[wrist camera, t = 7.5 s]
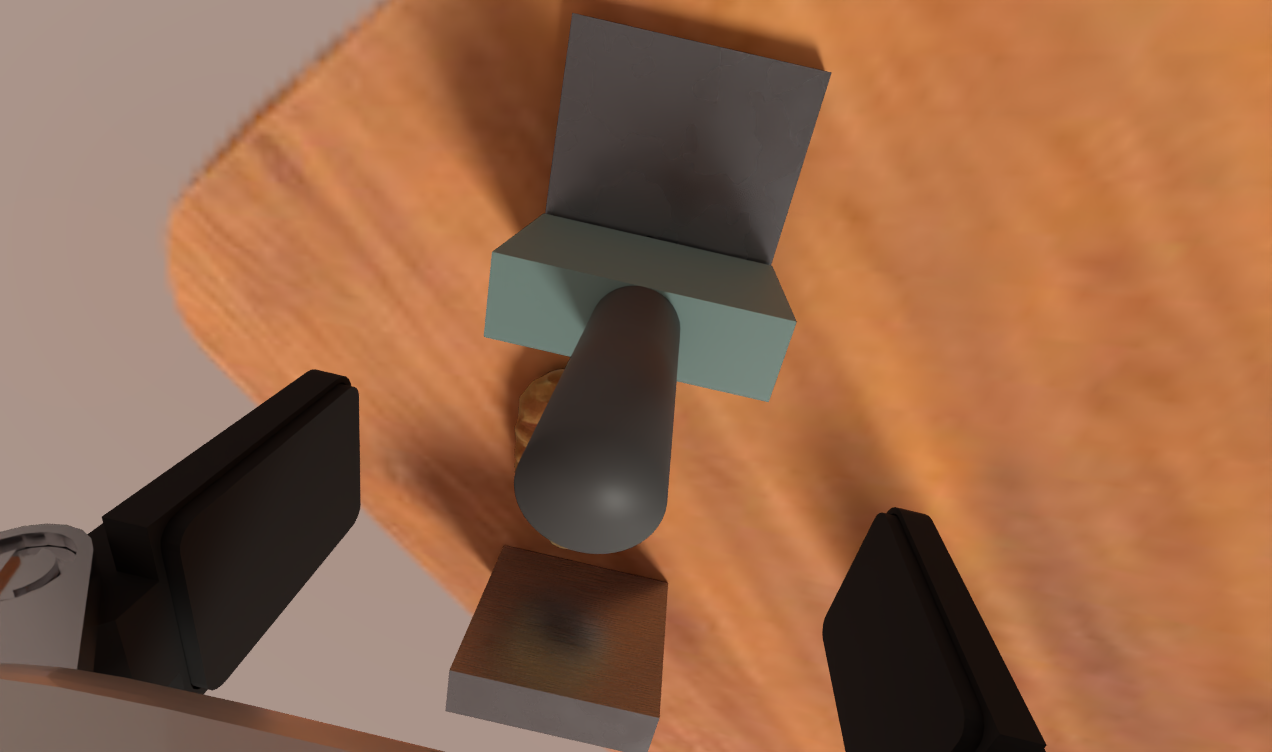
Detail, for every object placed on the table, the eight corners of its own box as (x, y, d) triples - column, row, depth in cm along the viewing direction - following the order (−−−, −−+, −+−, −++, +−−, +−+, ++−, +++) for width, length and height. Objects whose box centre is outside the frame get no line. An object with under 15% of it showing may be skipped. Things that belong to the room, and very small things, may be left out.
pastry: (495, 373, 30) (470, 408, 27) (622, 352, 29) (613, 386, 26) (544, 518, 34) (528, 565, 31) (658, 504, 33) (654, 551, 30)
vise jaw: (543, 213, 25) (336, 367, 11) (772, 265, 25) (870, 490, 11) (534, 279, 26) (339, 497, 12) (751, 329, 26) (815, 606, 12)
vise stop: (503, 545, 35) (449, 670, 27) (667, 582, 35) (659, 718, 27) (498, 581, 36) (445, 711, 29) (656, 617, 36) (646, 756, 29)
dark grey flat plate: (577, 16, 23) (572, 12, 22) (826, 73, 23) (831, 72, 22) (537, 302, 28) (532, 308, 27) (740, 348, 28) (742, 356, 27)
